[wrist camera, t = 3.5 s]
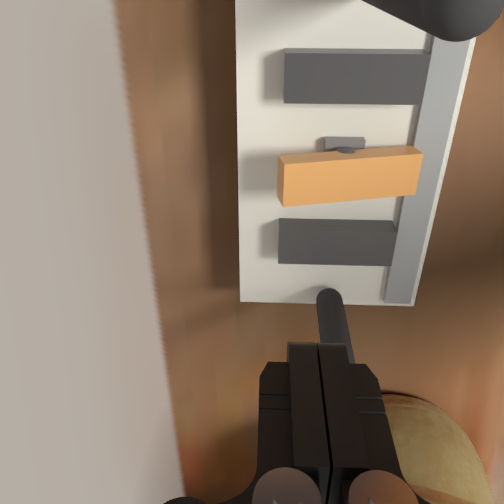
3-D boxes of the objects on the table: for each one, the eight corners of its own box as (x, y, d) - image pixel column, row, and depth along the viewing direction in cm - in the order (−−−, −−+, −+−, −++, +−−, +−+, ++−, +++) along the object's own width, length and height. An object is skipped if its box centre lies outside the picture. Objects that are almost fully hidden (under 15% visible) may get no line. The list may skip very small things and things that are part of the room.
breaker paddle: (275, 151, 23) (284, 164, 22) (407, 142, 24) (423, 153, 23) (274, 192, 24) (282, 207, 23) (399, 181, 25) (415, 194, 24)
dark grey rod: (316, 282, 29) (342, 498, 17) (342, 283, 29) (386, 500, 17) (314, 302, 30) (338, 521, 18) (339, 303, 30) (380, 523, 18)
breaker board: (239, -50, 23) (231, -52, 19) (471, -50, 22) (511, -52, 18) (242, 274, 33) (238, 315, 29) (402, 278, 32) (419, 320, 29)
